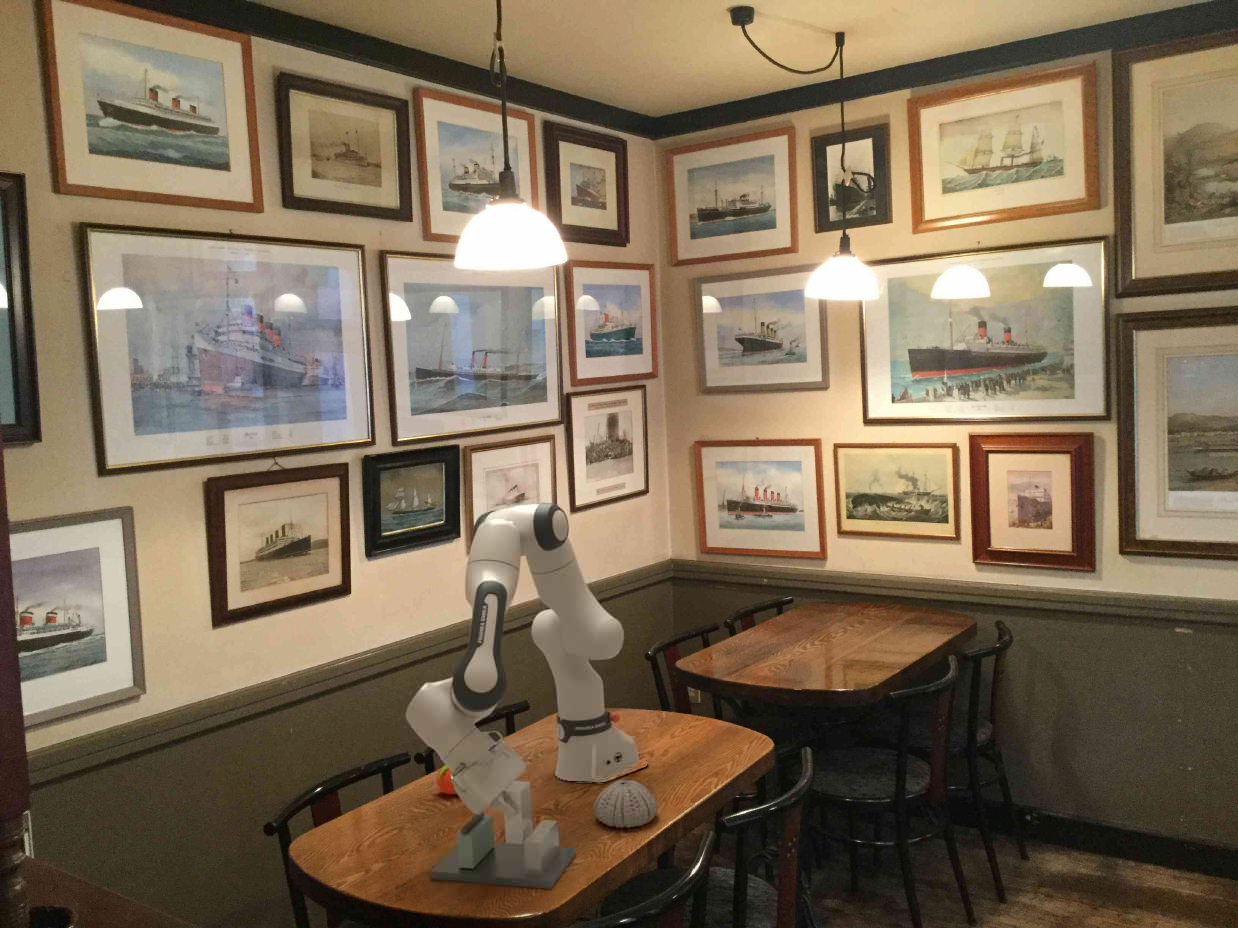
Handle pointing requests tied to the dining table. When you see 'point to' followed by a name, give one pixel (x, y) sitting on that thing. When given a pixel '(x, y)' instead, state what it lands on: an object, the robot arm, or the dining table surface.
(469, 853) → the sliding jaw
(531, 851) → the vise
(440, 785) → the clementine
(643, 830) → the dining table surface
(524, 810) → the block
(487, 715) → the robot arm
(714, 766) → the dining table surface
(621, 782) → the sea urchin shell
